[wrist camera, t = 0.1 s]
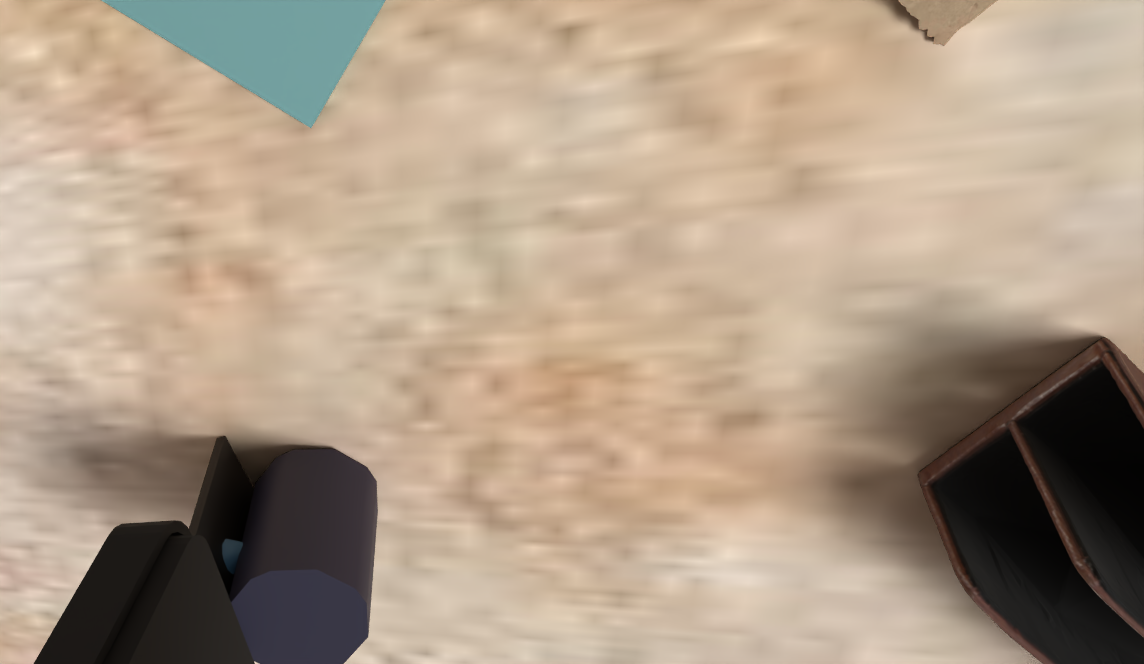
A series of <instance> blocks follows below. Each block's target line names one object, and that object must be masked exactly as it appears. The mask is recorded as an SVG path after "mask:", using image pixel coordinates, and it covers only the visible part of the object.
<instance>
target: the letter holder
mask: <svg viewBox="0 0 1144 664" xmlns="http://www.w3.org/2000/svg"><path fill="white" fill-rule="evenodd" d="M918 478H919V481H920V486H921V488H922V490H923V494H924V496H925V499H926V501H927V503H928V506H929V509H930V512H931V513H932V516H933V519H934V520H935V523H936V525H937V528H938V530H939V533H940V536H941V538H942V541H943V543H944V546H945V548H946V550H947V552H948V555H949V559H950V561H951V563H952V566H953V569H954V571H955V573H956V576H957V577H958V579H959V581H960V583H961V584H962V586H963V588H964V589H965V591H966V592H967V594H968V595H969V596H970V597H971V598H972V600H973V601H974V602H975V603H976V604H977V605H978V606H979V607H980V608H981V609H982V610H983V611H984V612H985V613H986V614H987V615H988V616H989V617H990V618H991V619H992V620H993V621H994V622H995V623H996V624H997V625H998V626H999V627H1000V628H1001V629H1002V630H1003V631H1004V632H1005V633H1007V634H1008V635H1009V636H1010V637H1011V638H1012V639H1014V640H1015V641H1016V642H1017V643H1018V644H1020V645H1021V646H1022V647H1023V648H1025V649H1026V650H1027V651H1028V652H1029V653H1031V654H1032V655H1033V656H1034V657H1036V658H1037V659H1038V660H1039V661H1040V662H1042V663H1043V664H1144V373H1143V372H1142V371H1141V370H1139V369H1138V368H1137V366H1136V365H1135V364H1133V363H1132V361H1130V360H1129V359H1128V357H1127V355H1125V354H1124V353H1122V351H1121V350H1120V349H1119V348H1118V347H1117V346H1116V345H1115V344H1113V343H1112V342H1111V341H1110V340H1109V339H1107V338H1101V339H1100V340H1098V341H1097V342H1096V343H1095V344H1093V345H1091V346H1090V347H1088V348H1087V349H1085V350H1084V351H1083V352H1081V353H1080V354H1078V355H1077V356H1076V357H1074V358H1073V359H1072V360H1070V361H1069V362H1068V363H1066V364H1065V365H1063V366H1062V367H1061V368H1059V369H1058V370H1057V371H1055V372H1054V373H1052V374H1051V375H1050V376H1048V377H1047V378H1046V379H1044V380H1043V381H1041V382H1040V383H1039V384H1038V385H1036V386H1035V387H1034V388H1032V389H1031V390H1029V391H1028V392H1027V393H1025V394H1024V395H1023V396H1021V397H1020V398H1019V399H1017V400H1016V401H1015V402H1013V403H1012V404H1011V405H1009V406H1008V407H1006V408H1005V409H1004V410H1002V411H1001V412H1000V413H998V414H997V415H995V416H994V417H993V418H991V419H990V420H989V421H988V422H986V423H985V424H983V425H982V426H981V427H979V428H978V429H977V430H975V431H974V432H973V433H971V434H970V435H968V436H967V437H966V438H964V439H963V440H962V441H960V442H959V443H958V444H957V445H955V446H954V447H952V448H951V449H949V450H948V451H947V452H946V453H944V454H943V455H941V456H940V457H939V458H937V459H936V460H934V461H933V462H932V463H930V464H929V465H928V466H926V467H925V468H924V469H922V470H921V471H920V473H919V474H918Z"/></svg>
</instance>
